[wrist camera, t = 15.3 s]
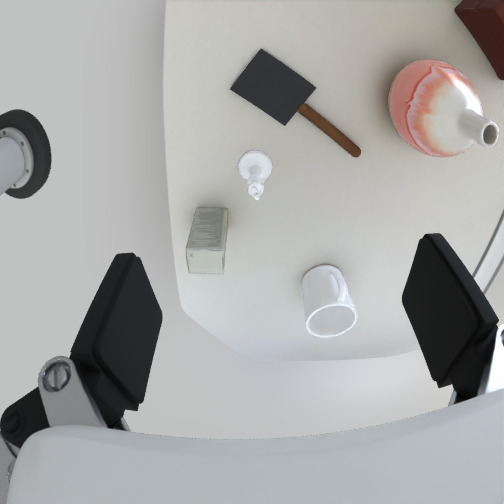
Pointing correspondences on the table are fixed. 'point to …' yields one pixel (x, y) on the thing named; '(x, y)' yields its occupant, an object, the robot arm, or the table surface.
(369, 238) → the table surface
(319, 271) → the mug
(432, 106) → the vase
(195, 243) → the box
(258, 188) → the chess piece
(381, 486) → the robot arm
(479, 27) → the box
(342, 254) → the table surface
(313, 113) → the spatula
